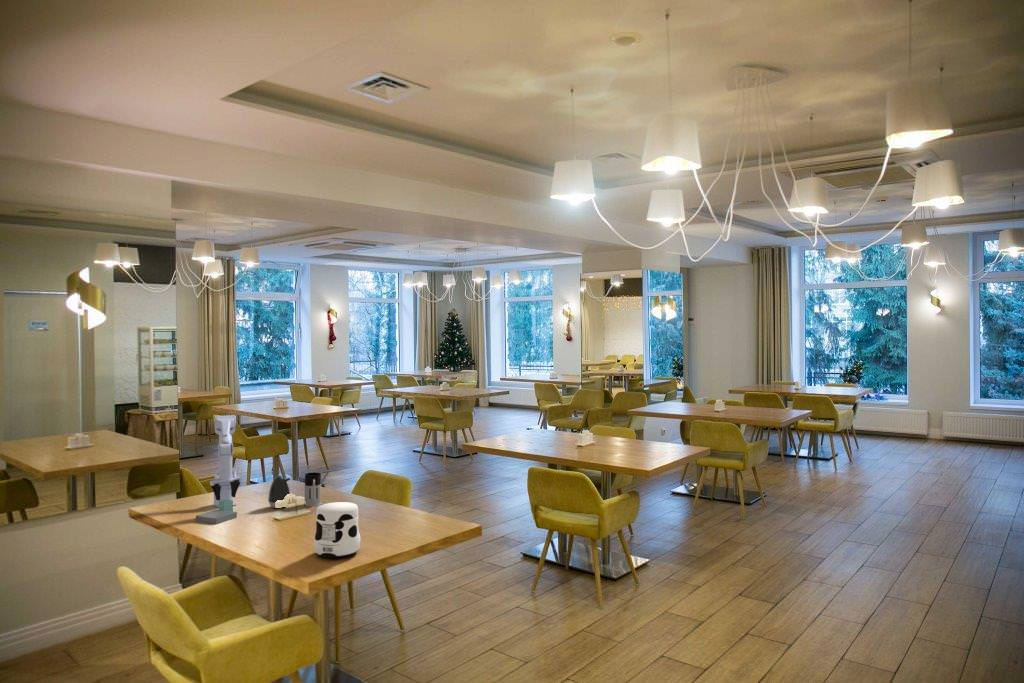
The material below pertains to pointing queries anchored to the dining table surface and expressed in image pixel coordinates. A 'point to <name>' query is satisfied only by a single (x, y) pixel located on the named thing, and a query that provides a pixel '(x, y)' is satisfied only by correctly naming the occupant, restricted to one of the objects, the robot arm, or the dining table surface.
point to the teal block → (226, 505)
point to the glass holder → (313, 489)
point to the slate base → (216, 516)
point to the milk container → (337, 530)
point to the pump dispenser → (278, 490)
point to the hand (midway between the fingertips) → (225, 498)
